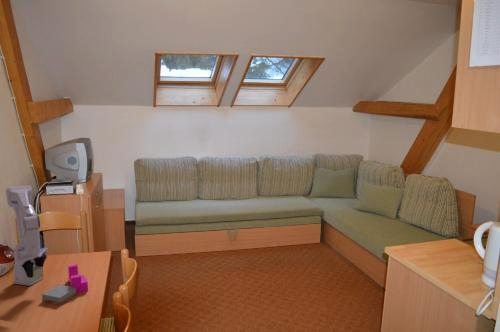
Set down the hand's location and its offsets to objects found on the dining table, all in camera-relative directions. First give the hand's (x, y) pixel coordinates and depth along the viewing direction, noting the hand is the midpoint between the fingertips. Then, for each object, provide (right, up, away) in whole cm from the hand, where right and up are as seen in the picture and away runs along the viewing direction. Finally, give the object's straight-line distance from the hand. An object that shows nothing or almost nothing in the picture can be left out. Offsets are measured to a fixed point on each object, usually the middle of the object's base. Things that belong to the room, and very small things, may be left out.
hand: (34, 274), depth 169 cm
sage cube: (0, -2, 0) cm, 2 cm away
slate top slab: (+12, -8, -2) cm, 14 cm away
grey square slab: (+11, -10, -2) cm, 15 cm away
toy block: (+14, -8, +10) cm, 19 cm away
